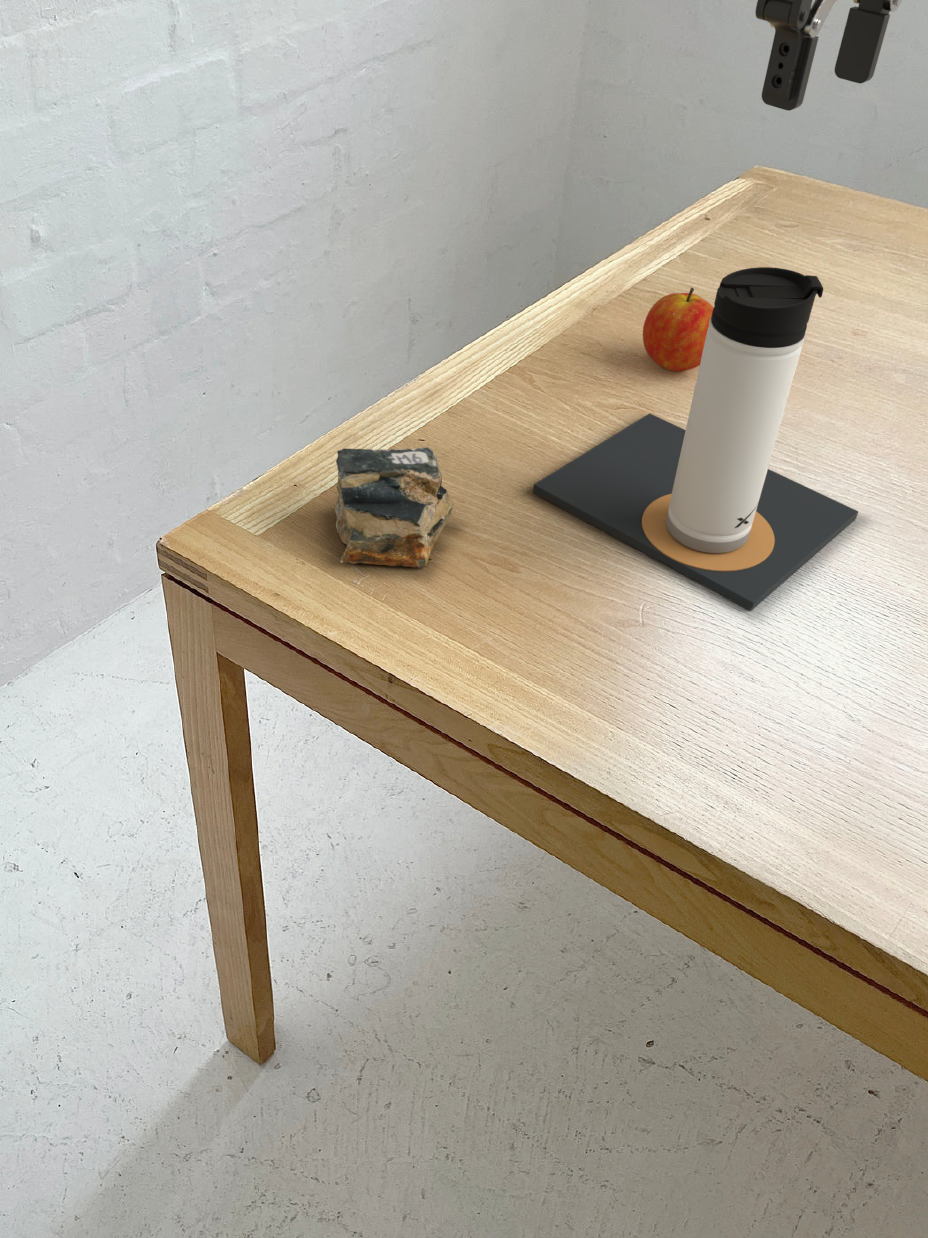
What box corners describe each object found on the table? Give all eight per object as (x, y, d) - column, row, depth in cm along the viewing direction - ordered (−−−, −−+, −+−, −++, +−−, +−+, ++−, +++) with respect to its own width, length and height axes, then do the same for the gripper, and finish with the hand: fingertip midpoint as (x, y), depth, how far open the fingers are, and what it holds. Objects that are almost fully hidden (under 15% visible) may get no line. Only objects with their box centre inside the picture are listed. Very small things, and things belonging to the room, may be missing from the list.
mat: (856, 519, 89) (859, 510, 89) (750, 611, 80) (753, 601, 79) (648, 420, 99) (649, 411, 98) (532, 492, 89) (533, 483, 89)
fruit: (626, 351, 108) (640, 271, 103) (693, 346, 110) (710, 267, 104) (653, 387, 103) (668, 305, 98) (722, 382, 105) (742, 301, 99)
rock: (341, 574, 80) (340, 509, 76) (332, 498, 87) (331, 434, 83) (461, 569, 81) (466, 504, 78) (443, 494, 88) (447, 431, 85)
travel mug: (759, 558, 83) (834, 303, 70) (670, 552, 83) (728, 296, 70) (745, 508, 88) (813, 261, 75) (660, 503, 88) (713, 254, 74)
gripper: (915, -256, 48) (815, 135, 59) (1038, -257, 57) (931, 86, 67) (763, -274, 52) (695, 99, 63) (899, -272, 60) (819, 56, 71)
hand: (817, 92), depth 65 cm, fingers open, 8 cm apart
